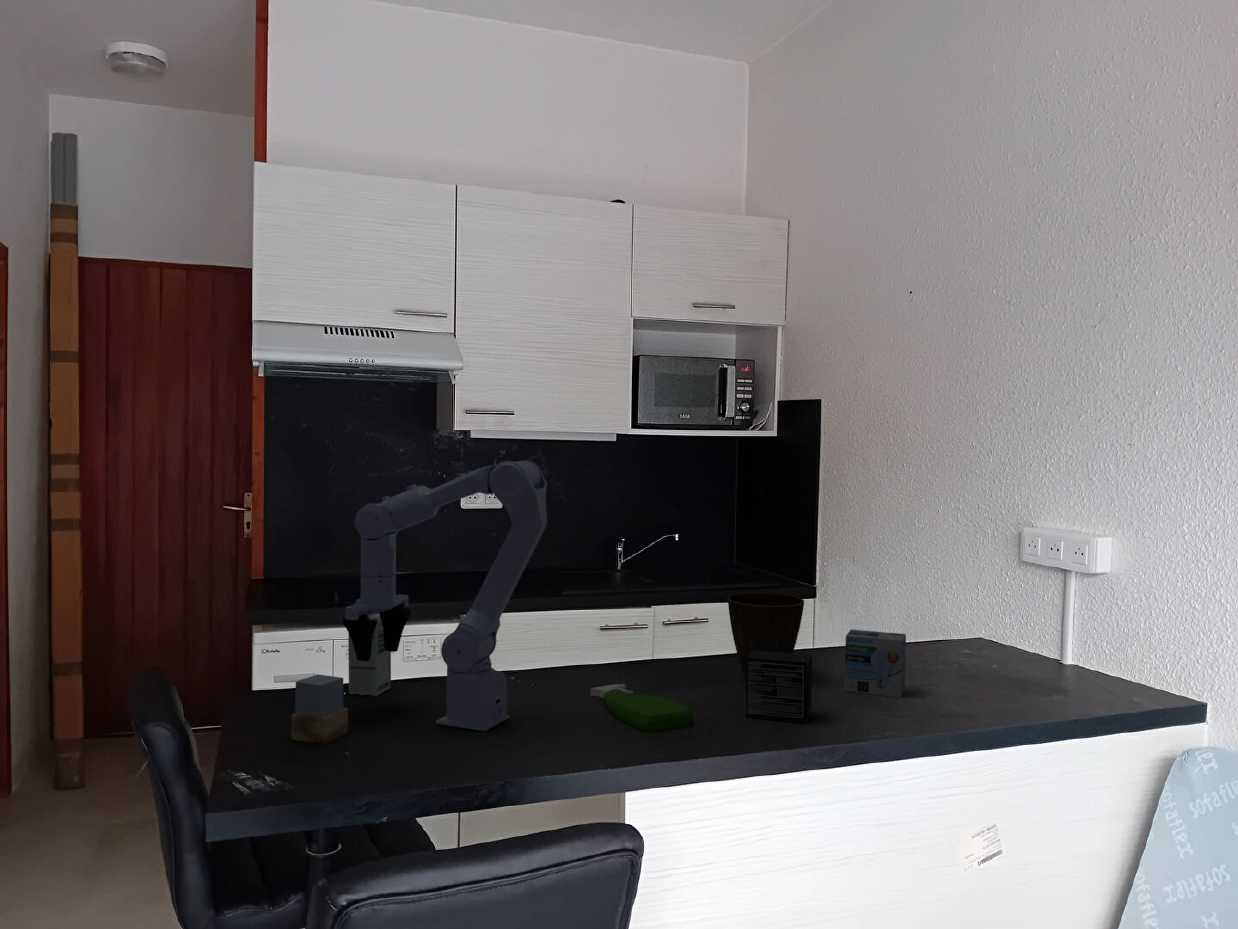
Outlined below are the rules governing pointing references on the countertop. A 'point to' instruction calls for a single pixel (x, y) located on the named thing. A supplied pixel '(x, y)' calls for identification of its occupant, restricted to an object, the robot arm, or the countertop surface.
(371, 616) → the syrup box
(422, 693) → the countertop surface
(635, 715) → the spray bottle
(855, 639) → the light bulb box
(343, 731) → the oak block
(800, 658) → the small box
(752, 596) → the plant pot
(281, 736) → the countertop surface
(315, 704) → the blue-grey cube
